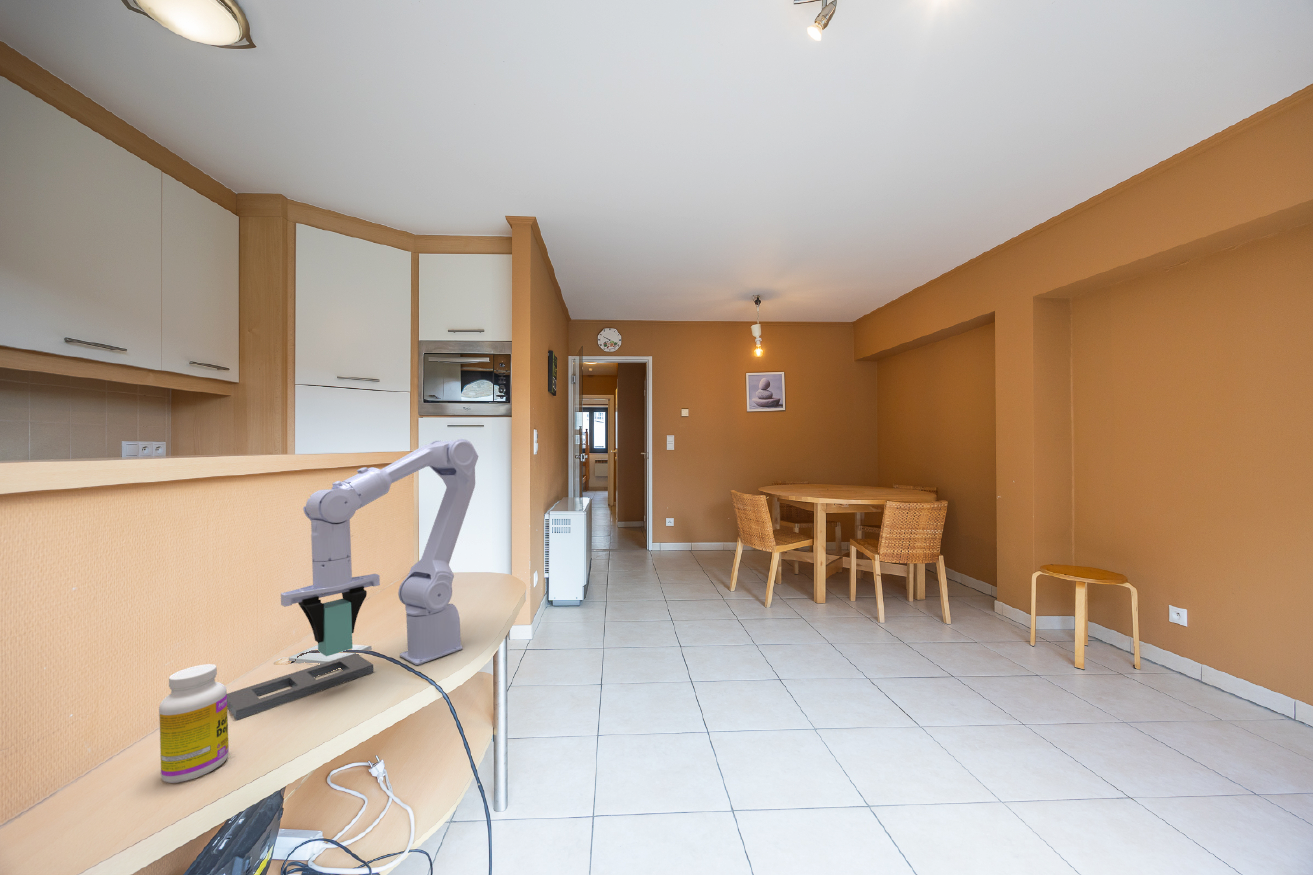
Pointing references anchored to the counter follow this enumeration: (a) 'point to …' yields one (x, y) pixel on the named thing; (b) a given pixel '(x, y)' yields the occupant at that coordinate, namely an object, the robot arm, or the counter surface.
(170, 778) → the supplement bottle
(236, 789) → the counter surface
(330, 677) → the steel rail
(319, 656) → the hard drive
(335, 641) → the teal peg
